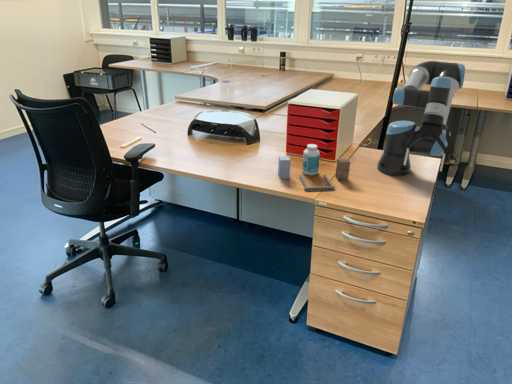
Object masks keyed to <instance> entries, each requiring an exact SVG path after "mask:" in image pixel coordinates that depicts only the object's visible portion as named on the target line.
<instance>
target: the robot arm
mask: <svg viewBox="0 0 512 384" xmlns="http://www.w3.org/2000/svg"><path fill="white" fill-rule="evenodd" d="M465 73H466V66H465V64H463V63H460V62H459V63H458V62H448V61H447V62H446V61H436V60H430V61H429V60H428V61H425V62H421V63H418V64H417V65H415V66H414V67H413V68H411V70H410V71H409V73H408V77H407V80H406V82H405V83H404V86H402V87H398V86H397V87H396V88H395V89H394V92H393V96H392V104H393V105H396V106H400V107H401V106H402V107H410V108H418V109H424V115H423V117H422V118H423V119H422V122H421V125H420V126H418V125H417V124H416V122H414V121H411V120H396V121H393V122H390V123H389V124H388V125H387V130H386V135H385V140H384V147H383V152H382V155H381V156H380V158H379V160H378V162H377V166H376V169H377V170H378V171H380V172H381V173H382V174H386V175H390V176H398V177H401V176H406V175H409V174H410V173H411V168H412V167H411V166H412V165H411V161H410V154H411V153H416V154H422V155H427V156H430V157H441V156H442V158H441V161H440V162H441V163H440V167H439V172H443V167H444V164H447V163H448V161H449V160H448V159H449V156H450V155H452V156H453V155H454V154H455V149H454V146H453V142H452V139H451V134H452V133H451V131H450V129H449V128H448V126H447V122H448V118H449V114H450V111H451V105H452V104H453V103H452V102H453V98H454V94H455V93H457V92H458V90H459V89H460V90H461V89H462V88H463V86H464V82H465V81H464V80H465ZM424 85H427V86H429V90H424V89H422V88H423V87H424ZM447 147H448V148H447Z"/></svg>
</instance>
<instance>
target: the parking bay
mask: <svg viewBox="0 0 512 384" xmlns="http://www.w3.org/2000/svg"><path fill="white" fill-rule="evenodd" d="M322 176H323V179H324V181H325V182H326V185H327V186H308V184H307V183H306V181H305V179H304V177H303V175H299V179H300V181H301V183H303V184H302V185H303V186H302V187H303V188H304V189H303V190H304V191H305V192H306V191H307V192H308V191H309V190H310V192H311V190H312V191H333V190H334V191H335V188H336V187H335V186H333V184H332V182H331V181H330V179H329V178H328V176H327V174H323V175H322Z"/></svg>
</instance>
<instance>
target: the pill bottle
mask: <svg viewBox="0 0 512 384" xmlns="http://www.w3.org/2000/svg"><path fill="white" fill-rule="evenodd" d="M302 153H303V154H302V155H303V156H302V157H303V158H302V170H301V171H302V173H303V175H305V176H309V177H310V176H312V177H313V176H316V175H318V174H319V168H320V156H321V155H320V154H321V153H320V150H318V145H317V144H314V143H308V144H306V148H305V149H304V150H303V152H302Z"/></svg>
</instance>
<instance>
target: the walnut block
mask: <svg viewBox="0 0 512 384" xmlns="http://www.w3.org/2000/svg"><path fill="white" fill-rule="evenodd" d="M335 167H336V168H335V175H334V176H335V178H336V180H337V181H346V182H347V181H348V180H349V174H350V168H351V161H350V160H349V158H347V157H343V158H341V157H340V158H339V157H338V158H337V159H336V166H335Z"/></svg>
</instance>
